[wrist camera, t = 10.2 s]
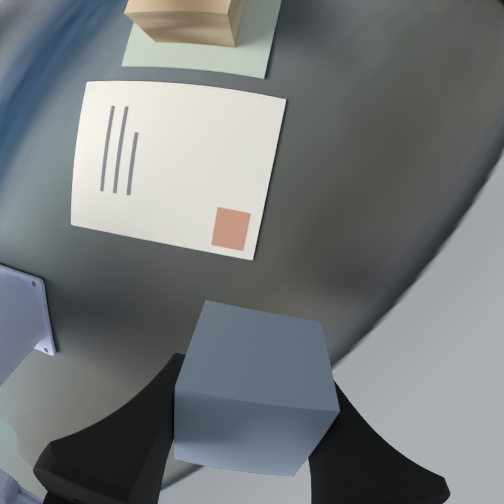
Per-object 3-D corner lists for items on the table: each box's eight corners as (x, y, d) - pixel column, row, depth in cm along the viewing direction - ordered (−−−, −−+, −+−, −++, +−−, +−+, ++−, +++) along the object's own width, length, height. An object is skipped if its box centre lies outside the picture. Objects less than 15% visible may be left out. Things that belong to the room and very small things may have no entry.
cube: (195, 379, 14) (174, 458, 10) (205, 300, 12) (174, 386, 8) (290, 395, 14) (293, 476, 10) (320, 321, 13) (339, 411, 8)
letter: (71, 224, 18) (70, 224, 18) (88, 81, 15) (87, 81, 15) (252, 259, 19) (252, 260, 19) (286, 99, 16) (286, 99, 16)
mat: (122, 67, 15) (121, 66, 15) (158, -39, 12) (158, -40, 12) (263, 79, 15) (263, 78, 15) (289, -32, 12) (289, -33, 12)
